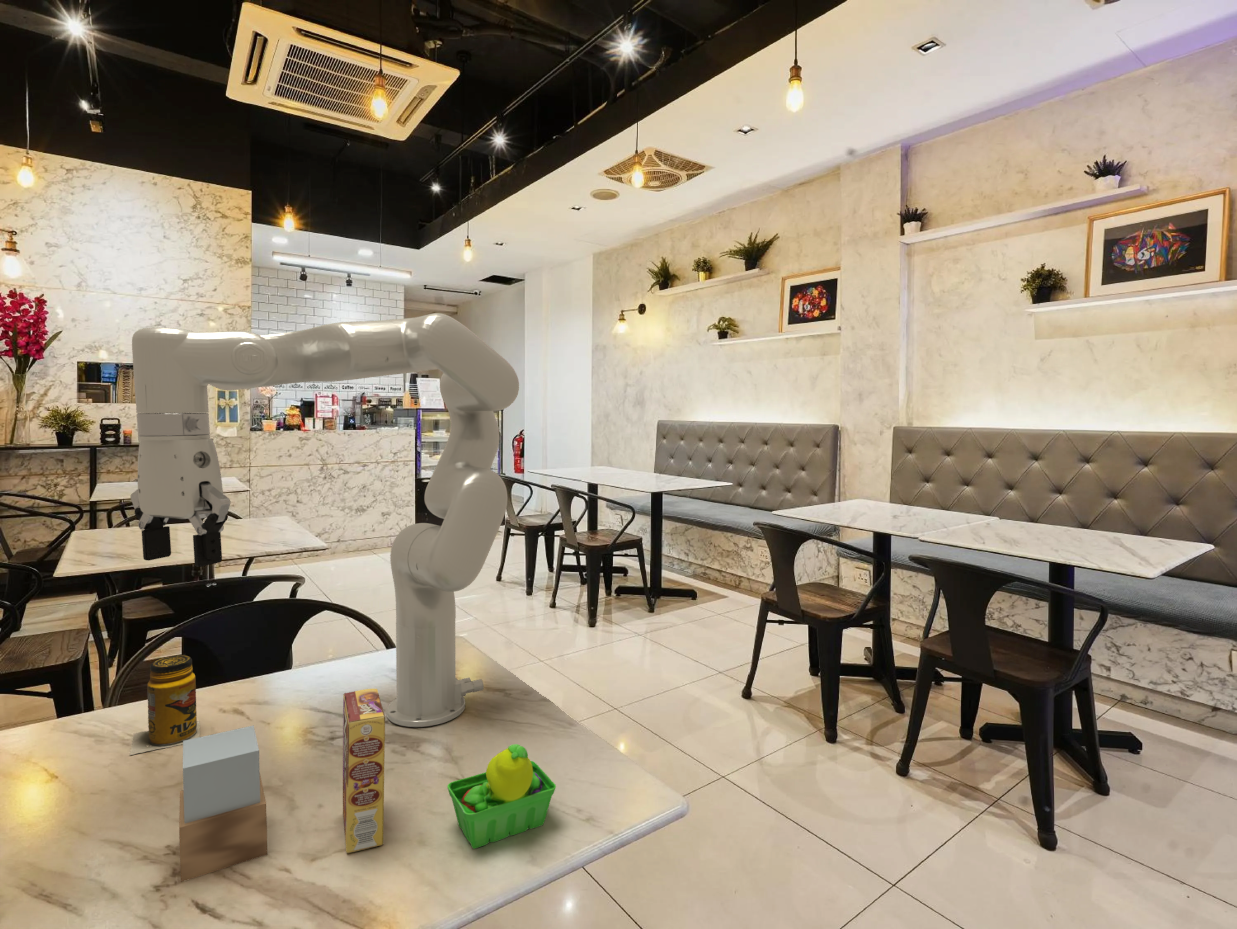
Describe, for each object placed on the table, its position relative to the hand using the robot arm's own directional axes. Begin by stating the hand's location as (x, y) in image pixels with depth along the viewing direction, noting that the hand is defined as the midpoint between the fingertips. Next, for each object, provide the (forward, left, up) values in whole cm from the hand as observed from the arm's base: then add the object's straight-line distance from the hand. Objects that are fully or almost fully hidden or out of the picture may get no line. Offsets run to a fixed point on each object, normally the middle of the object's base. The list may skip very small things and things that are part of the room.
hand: (182, 561), depth 82 cm
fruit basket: (-31, +30, -31) cm, 53 cm away
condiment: (+3, -18, -31) cm, 35 cm away
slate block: (-3, +16, -24) cm, 29 cm away
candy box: (-17, +21, -30) cm, 41 cm away
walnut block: (-3, +16, -30) cm, 34 cm away
